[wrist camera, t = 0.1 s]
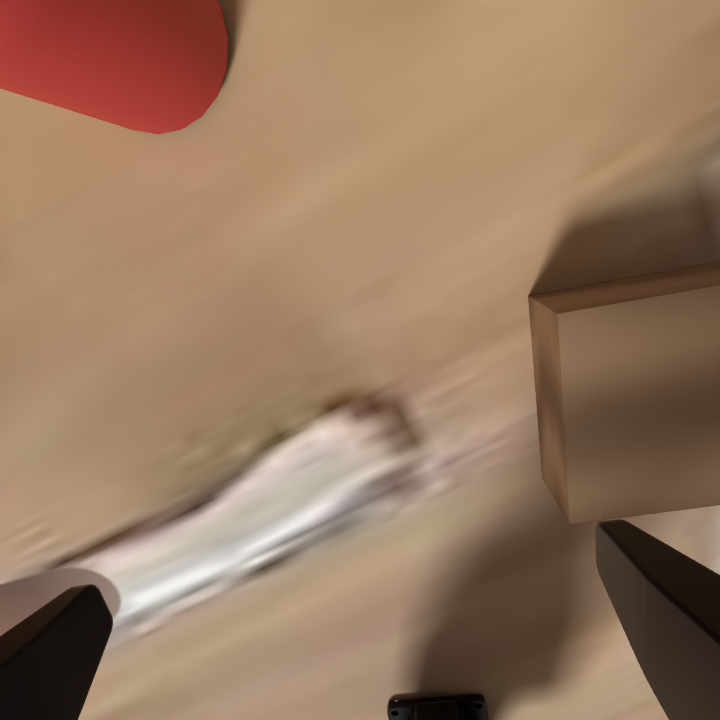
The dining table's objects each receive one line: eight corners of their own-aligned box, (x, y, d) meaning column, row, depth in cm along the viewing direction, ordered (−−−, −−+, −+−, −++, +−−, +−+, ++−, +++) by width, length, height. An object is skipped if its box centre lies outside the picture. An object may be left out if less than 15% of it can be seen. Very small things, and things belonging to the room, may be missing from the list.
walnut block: (737, 446, 23) (806, 494, 19) (540, 474, 24) (569, 524, 20) (753, 253, 20) (840, 264, 16) (525, 294, 21) (557, 314, 17)
